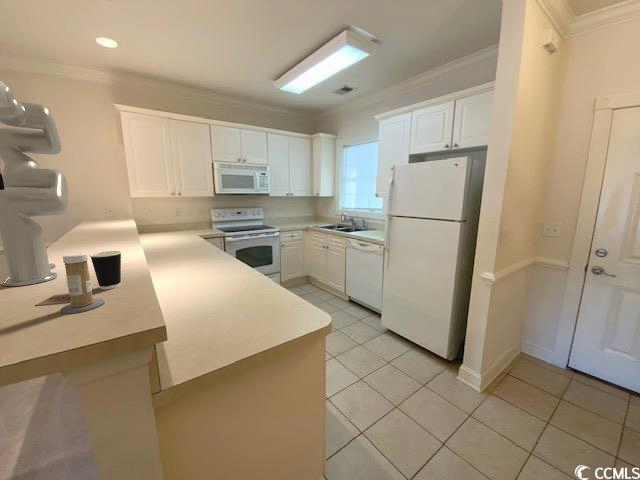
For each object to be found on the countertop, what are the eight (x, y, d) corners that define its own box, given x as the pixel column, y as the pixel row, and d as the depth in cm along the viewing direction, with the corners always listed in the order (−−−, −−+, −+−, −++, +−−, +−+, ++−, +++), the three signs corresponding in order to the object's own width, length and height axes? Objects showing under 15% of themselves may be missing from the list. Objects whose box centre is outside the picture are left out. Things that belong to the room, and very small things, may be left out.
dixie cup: (87, 290, 80) (81, 255, 78) (111, 282, 88) (106, 250, 86) (109, 291, 79) (104, 256, 77) (131, 283, 87) (128, 251, 85)
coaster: (73, 302, 70) (73, 300, 70) (110, 299, 73) (110, 297, 73) (52, 315, 63) (52, 313, 62) (94, 311, 65) (94, 309, 65)
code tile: (55, 295, 76) (55, 294, 76) (88, 292, 78) (88, 291, 78) (35, 306, 68) (34, 305, 68) (72, 302, 71) (72, 301, 71)
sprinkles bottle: (98, 302, 69) (91, 252, 67) (78, 309, 65) (70, 256, 63) (86, 300, 71) (79, 251, 69) (65, 307, 66) (57, 255, 64)
